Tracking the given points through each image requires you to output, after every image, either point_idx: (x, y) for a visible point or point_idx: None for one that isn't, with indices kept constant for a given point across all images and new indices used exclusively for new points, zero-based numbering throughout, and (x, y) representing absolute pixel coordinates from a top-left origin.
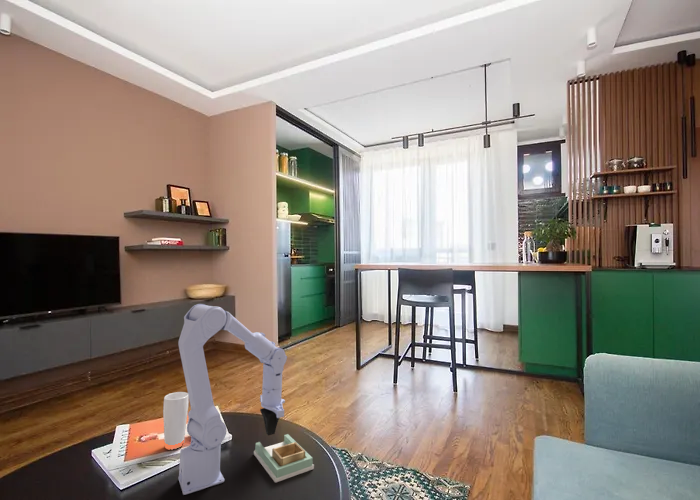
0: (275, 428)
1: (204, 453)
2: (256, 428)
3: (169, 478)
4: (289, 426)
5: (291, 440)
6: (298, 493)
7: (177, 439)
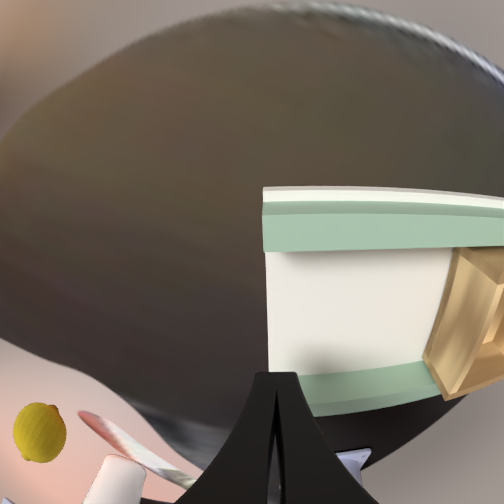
0: (306, 404)
1: None
2: (32, 286)
3: None
4: (49, 114)
5: (394, 237)
6: None
7: (139, 487)
